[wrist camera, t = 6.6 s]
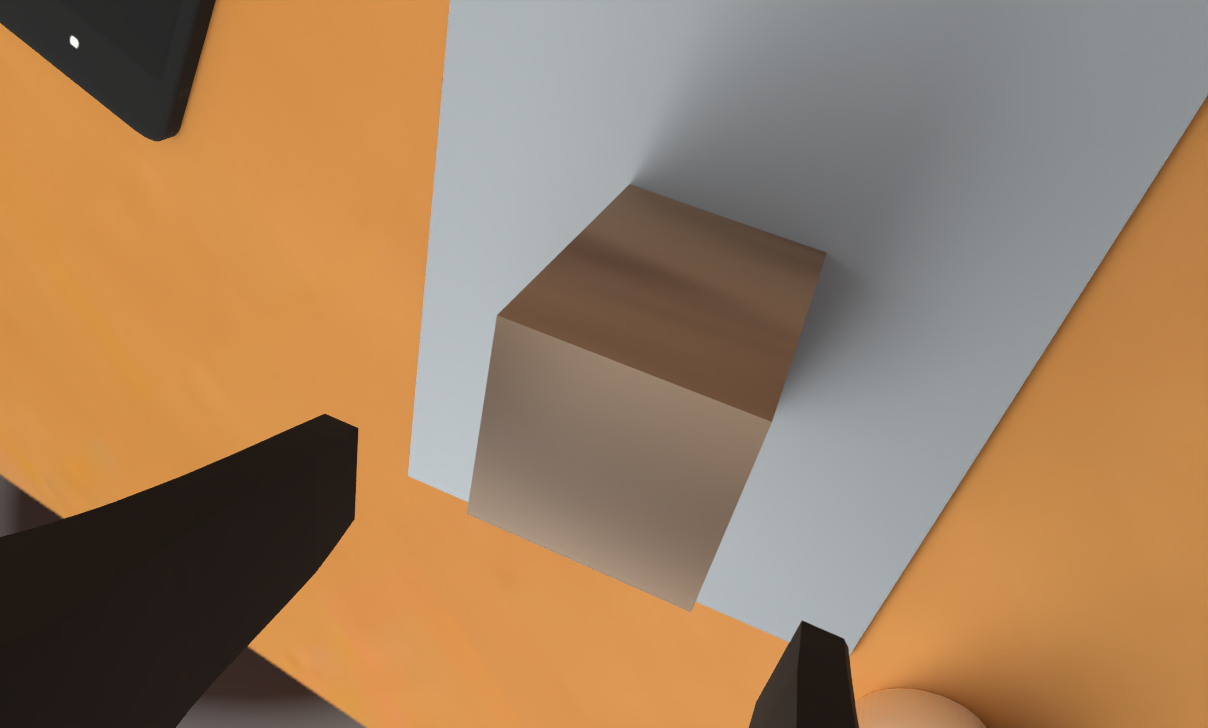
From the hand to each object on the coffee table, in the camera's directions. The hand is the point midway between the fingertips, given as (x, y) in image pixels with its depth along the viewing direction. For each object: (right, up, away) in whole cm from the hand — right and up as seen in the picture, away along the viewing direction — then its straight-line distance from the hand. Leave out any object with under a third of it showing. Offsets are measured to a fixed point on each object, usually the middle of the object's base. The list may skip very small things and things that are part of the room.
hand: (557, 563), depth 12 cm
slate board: (+3, +4, +7) cm, 9 cm away
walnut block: (+3, +4, +7) cm, 8 cm away
